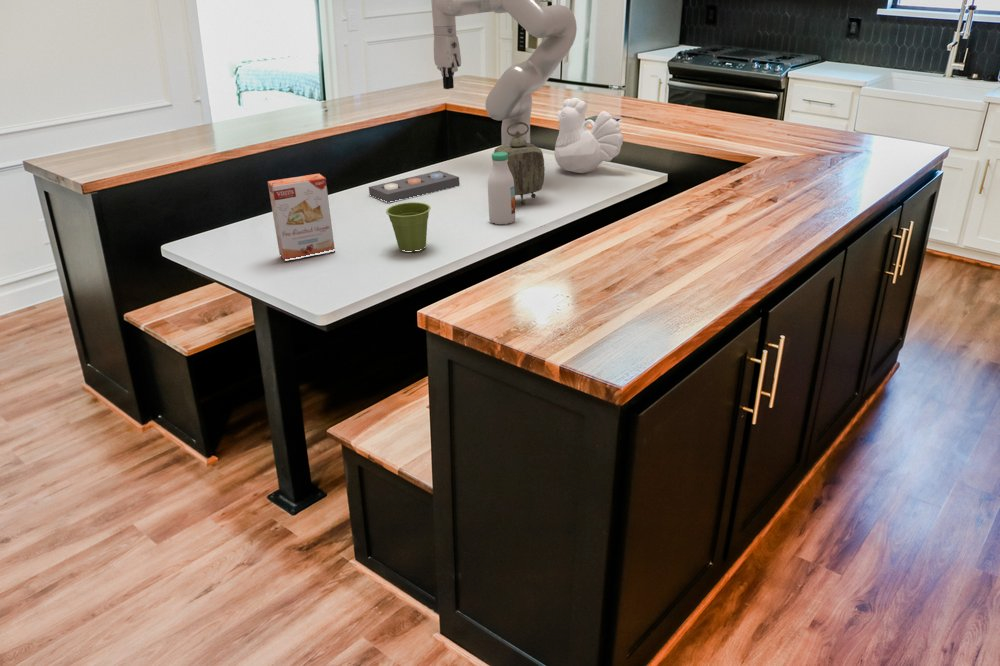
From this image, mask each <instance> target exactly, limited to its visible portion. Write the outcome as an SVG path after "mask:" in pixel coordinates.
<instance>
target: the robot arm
mask: <svg viewBox="0 0 1000 666" xmlns="http://www.w3.org/2000/svg"><path fill="white" fill-rule="evenodd" d="M430 1H431V14H432V27H433V28H432V29H433V61H434V65H435V66H436V69H437V70H439V71H440V73H441V78H442V86H443V90H451V89H454V88H455V87H454V85H455V84H454V75H455V73H456V72H458V71H459V69H458V68H459V67H461V65H462V57H461V56H462V55H461V48H460V42H459V38H458V36H457V23H456V17H462V16H464V17H465V16H468V15H476V14H482V13H491V12H492V13H493V12H494V13H495V14H505V13H506V14H507V13H508V14H509V16H511V18H512V19H514V20H515V21H516V23H517V24H519V25H520V26H521V27H522V29H524V30H525V31H526V32H527V33H528V34H529V35H531V36H532V37H534V38H537V39H544V40H542V41H541V42H540V43H539V44H538V46H537V47H536V48H535V50H534V51H533V53H532V54H531V55H530V56H529V57H528V58H527V60H525V61H522V62H520V63H515V64H512V65H511V66H510V67H508V68H506V70H505V71H503V73H502V74H501V76H500V77H499V79H498V80H497V81H496V83H495V84H494V86H493V87H492V89H491V90H490V91H489V93H488V95H487V96H486V99H485V105H484V106H485V111H486V113H487V115H488V116H489V117H490V119H493V120H495V121H502V123H501V127H500V128H501V132H500V133H501V134H500V135H501V146H502V145H506V144H510V142H511V140H512V139H513V138H515V136H510V135H509V134H508V133H507V128H508V126H509V125H510V124H512V123H515V122H524V123H526V124H527V125H528V127H529V130H528V132H527V133H526V134H524V135H522V136H520V137H522V138H524V139H525V140H526V143H530V144H531V114H532V108H533V97H532V93H535V92H537V91H539V90H541V89H542V88H543V86H544V85H545V84H546V82H547V81H549V79H550V77H551V76H552V74H553V73H554V72H555V70H556V69H557V67H558V66H559V65H560V64H561V62H562V61H563V60H564V59H565V57H566V56H567V54H569V52H570V50H571V48H572V46H573V45H574V42H575V40H576V36H577V29H578V28H577V20H576V17H575V14H574V13H573V11H572V10H571V8H569V7H568V6H565V5H561V4H553V5H548V6H547V5H545V6H541V5H540V4H541V3H542V0H430ZM517 131H519V132H520V134H521V133H524V132H526V131H527V126H525V125H523V124H516V125H513V126H511V127H510V128H509V129H508V132H509V133H511V134H516V132H517Z"/></svg>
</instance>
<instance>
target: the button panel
mask: <svg viewBox="0 0 1000 666" xmlns="http://www.w3.org/2000/svg"><path fill="white" fill-rule="evenodd" d="M432 173H443V178H439V179H432V178H430V174H432ZM411 178H420V179H421V183H418V184H414V185H411V184H408V179H411ZM390 183H395V184H398V188H397V189H393V190H386V189H384V185H386V184H390ZM459 185H460V176H457V175H454V174H451V173H448V172H446V171H445V172H444V171H441V170H434V171H431V172H427V173H422V174H418V175H415V176H410V177H406V178H401V179H398V180H397V179H396V180H392V181H388V182H384V183H379V184H374V185H372V186H368V194H369V196H370V195H371V196H374V197H376V198H379V199H382V200H385V201H387V202H390V201H395V200H399V199H404V200H406V199H405V198H408V199H410V198H409V197H412V198H414V197H413V196H416V197H418V196H417V195H420V196H423V195H422V194H424V195H427V194H426V193H428V194H432V193H436V192H440V191H443V189H444V190H447V189H446V188H449V189H452V188H451V187H453V188H456V187H455V186H457V187H460V186H461V185H460V186H459ZM439 190H440V191H439ZM435 191H436V192H435ZM431 192H432V193H431ZM371 196H370V197H371ZM374 197H373V198H374ZM376 198H375V199H376ZM379 199H378V200H379Z"/></svg>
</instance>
